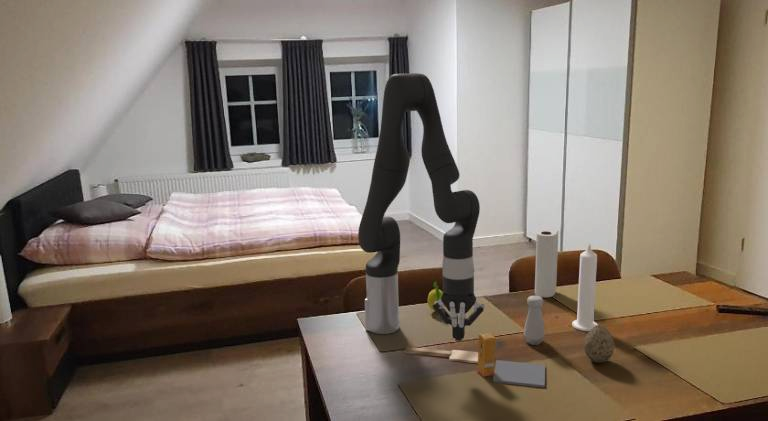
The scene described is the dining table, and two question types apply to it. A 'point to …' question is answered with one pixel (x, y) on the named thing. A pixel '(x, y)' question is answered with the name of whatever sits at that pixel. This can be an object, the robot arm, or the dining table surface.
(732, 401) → the dining table surface
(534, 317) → the salt shaker
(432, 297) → the lemon
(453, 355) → the turner
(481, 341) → the supplement box
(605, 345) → the decorative egg
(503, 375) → the mat
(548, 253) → the paper towel roll
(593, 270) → the candle
